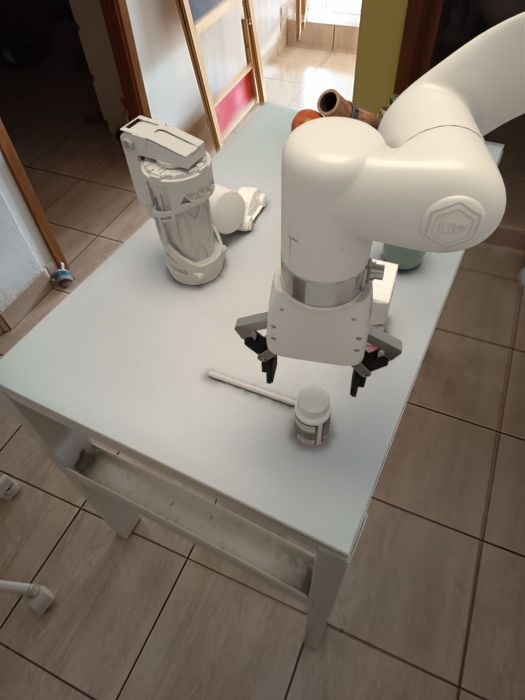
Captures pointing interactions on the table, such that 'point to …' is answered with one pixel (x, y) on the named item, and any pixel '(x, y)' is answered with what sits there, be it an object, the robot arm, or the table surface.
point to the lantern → (176, 196)
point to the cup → (402, 256)
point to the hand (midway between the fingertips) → (312, 380)
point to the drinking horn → (343, 108)
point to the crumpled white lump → (251, 205)
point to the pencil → (252, 388)
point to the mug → (226, 209)
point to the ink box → (382, 297)
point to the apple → (304, 117)
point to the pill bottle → (312, 415)
